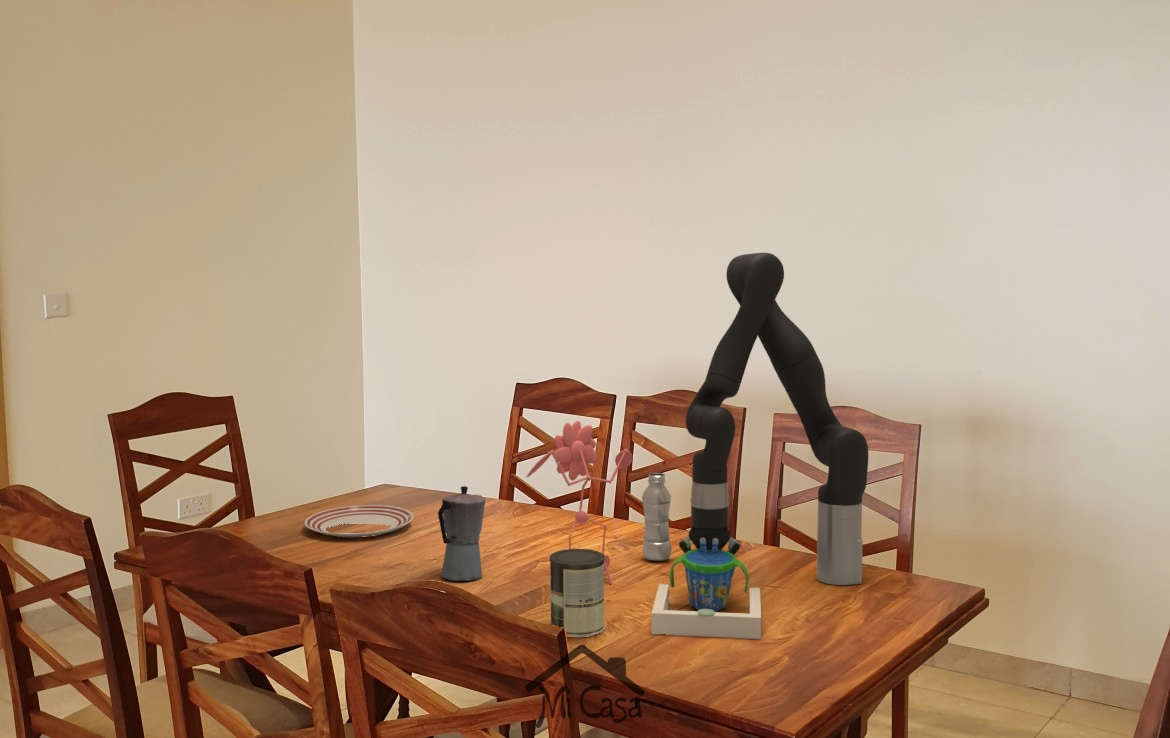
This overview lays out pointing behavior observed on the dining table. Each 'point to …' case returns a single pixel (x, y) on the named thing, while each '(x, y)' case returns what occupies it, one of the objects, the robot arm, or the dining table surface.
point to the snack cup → (709, 577)
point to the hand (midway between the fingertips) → (709, 586)
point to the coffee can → (577, 591)
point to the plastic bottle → (656, 519)
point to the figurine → (580, 466)
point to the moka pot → (461, 535)
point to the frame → (705, 619)
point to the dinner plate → (359, 519)
